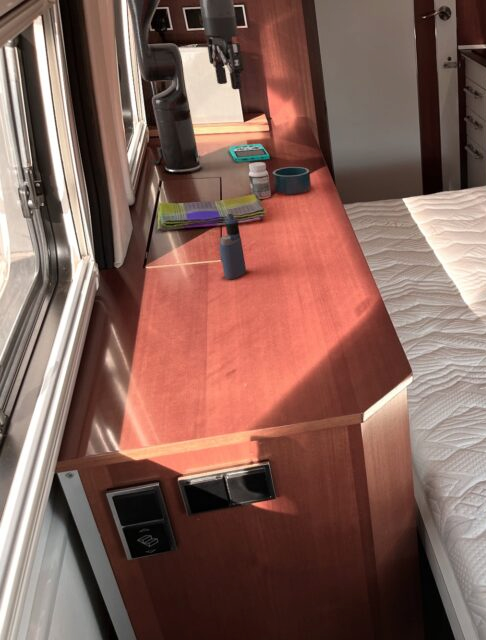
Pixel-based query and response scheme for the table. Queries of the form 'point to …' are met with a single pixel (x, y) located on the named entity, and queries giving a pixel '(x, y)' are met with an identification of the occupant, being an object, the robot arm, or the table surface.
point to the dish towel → (209, 212)
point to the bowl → (292, 180)
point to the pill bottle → (259, 180)
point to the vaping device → (232, 250)
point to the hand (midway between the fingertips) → (229, 86)
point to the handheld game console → (249, 153)
